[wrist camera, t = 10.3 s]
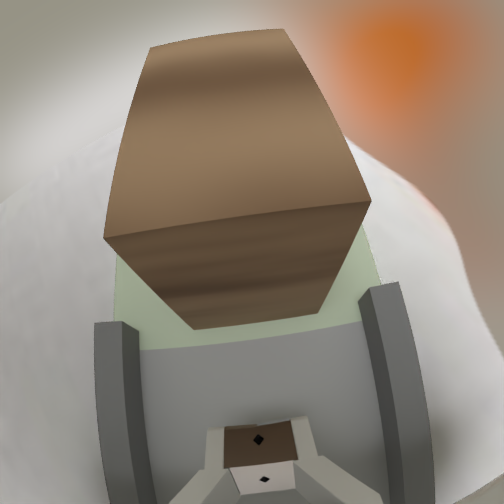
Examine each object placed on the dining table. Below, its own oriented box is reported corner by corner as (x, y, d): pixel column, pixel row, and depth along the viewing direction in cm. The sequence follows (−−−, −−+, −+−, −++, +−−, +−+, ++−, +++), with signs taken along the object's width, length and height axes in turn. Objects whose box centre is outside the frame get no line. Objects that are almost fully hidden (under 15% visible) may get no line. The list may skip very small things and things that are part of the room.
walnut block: (317, 313, 14) (371, 200, 6) (193, 330, 14) (103, 238, 6) (282, 159, 19) (283, 28, 11) (188, 172, 19) (150, 47, 11)
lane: (410, 554, 8) (431, 573, 5) (161, 584, 8) (144, 607, 5) (332, 162, 20) (338, 129, 17) (130, 191, 20) (114, 162, 17)
